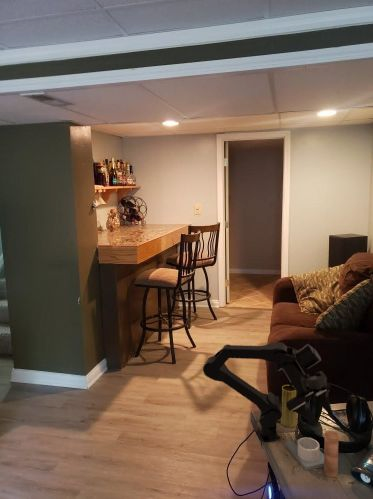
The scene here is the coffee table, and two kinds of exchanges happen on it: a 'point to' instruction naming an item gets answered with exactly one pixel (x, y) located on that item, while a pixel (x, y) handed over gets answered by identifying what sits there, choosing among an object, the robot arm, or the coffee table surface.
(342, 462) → the coffee table surface
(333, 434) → the post
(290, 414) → the vase
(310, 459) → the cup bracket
